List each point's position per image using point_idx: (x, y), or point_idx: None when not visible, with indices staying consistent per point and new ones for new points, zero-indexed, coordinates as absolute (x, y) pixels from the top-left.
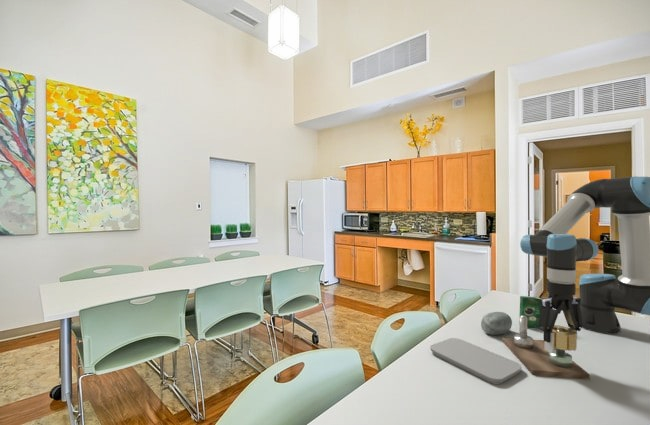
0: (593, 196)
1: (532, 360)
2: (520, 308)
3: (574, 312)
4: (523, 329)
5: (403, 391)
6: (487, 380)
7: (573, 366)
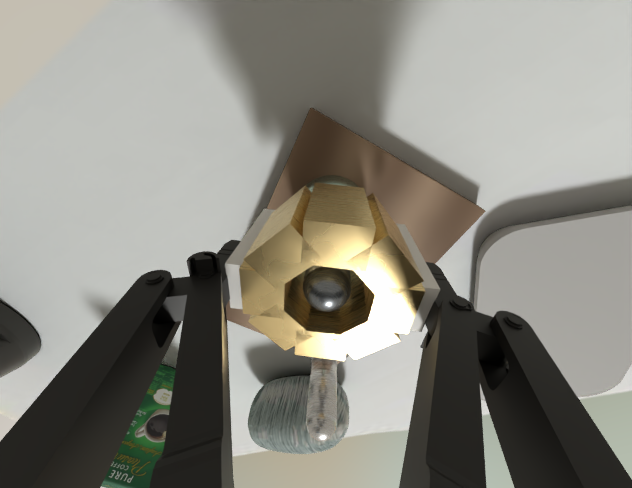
0: None
1: None
2: None
3: (113, 413)
4: (333, 371)
5: None
6: None
7: (307, 177)
